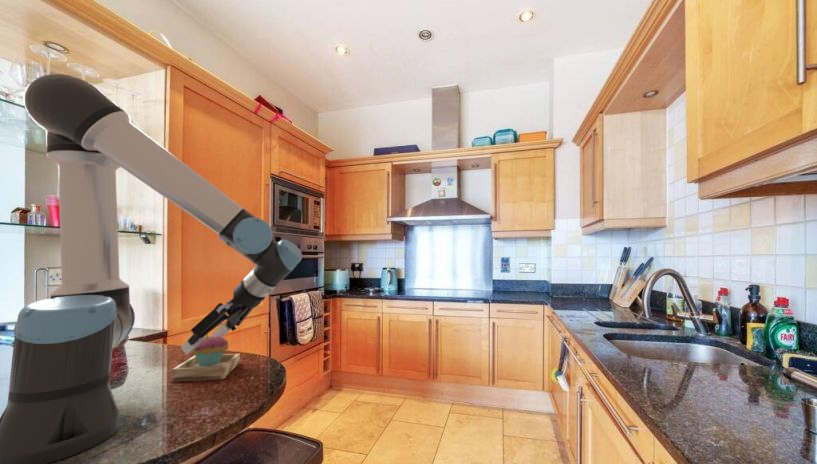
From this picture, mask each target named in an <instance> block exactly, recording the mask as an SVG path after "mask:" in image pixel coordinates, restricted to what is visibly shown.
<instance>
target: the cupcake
mask: <svg viewBox="0 0 817 464" xmlns="http://www.w3.org/2000/svg"><path fill="white" fill-rule="evenodd" d="M210 336H211V335H210ZM210 336H209V333H208V334H206V335H205V338H204V339H203V340H202V341H201V342H200V344H199V345H198V346H197V347H196V348H195V349H194V350H193V351H192V352H191V353H192V354H194V356H195V355H196V358H197V361H198V365H199V366H213V365H216V364H218V363H219V362H220V359H221V356H222V354H224V352H225V351H227V350H228V349H229V342H228V340H227V339H225V338H224V337H223V338H222V337H219V336H218V337H216V336H215V337H214V336H213V337H212V336H211V337H210Z"/></svg>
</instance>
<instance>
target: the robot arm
mask: <svg viewBox="0 0 817 464" xmlns="http://www.w3.org/2000/svg"><path fill="white" fill-rule="evenodd" d="M23 104H24V107H25V110H26V111H27V113H28V115H29V117H30V118H31V119H32V120H33V121H34V122H35V123H36V124H37V125H38V126H39V127H41V128H42V129H43V130H44V131H45V142H46V143H45V147H46V158H48V159H49V160H51V162H53V163H54V164H56V165H57V167H58V170H57V171H58V199H59V203H58V204H59V235H60V236H59V237H60V266H61V267H60V272H61V273H60V274H61V275H60V276H61V283H60V285H59V286H58V287H57V288H55V289H54V290H53V291H52V292H51V293H50V298H46V299H41V300H38V301H33V302H32V303H29V304H27V305H25V306H24V307H23V308H21V310H20V311H19V312H18V315H17V320H16V323H15V324H14V327H13V328H14V329H13V335H14V337H13V338H14V339H13V347H12V348H13V349H12V356H11V357H12V359H11V368H10V377H9V378H10V379H9V386H8V397H7V402H6V403H7V404H6V406H5V408H4V410H3V412H2V414H1V416H0V464H49V463H53V462H57V461H59V460H63V459H66V458H69V457H71V456H75V455H77V454H80V453H82V452H85V451H87V450H89V449H91V448H93V447H95V446H97V445H99V444H101V443H103V442H104V441H106V440H107V439H109V438H110V437H111V436H113V435H114V434H115V433H116V432H117V431H118V429H119V426H120V417H121V415H120V411H119V409H118V406H117V402H116V399H115V397H114V394H113V391H112V388H111V386H110V381H111V370H112V369H111V368H112V357H113V356H112V355H113V349H114V348H115V347H116V348H117V346H119V345H120V344H121V343H122V342H123V341H124V340H125V339H127V337H128V336H129V335H130V333H131V331H132V330H133V326H135V325H134V324H135V320H136V316H135V315H136V314H135V311H134V308H133V305H132V304H131V299H130V298H131V297H130V285H129V284H128V283H126V282H125V281H123V280H122V279H121V277H120V258H119V257H120V255H119V229H118V228H119V227H118V225H119V223H118V203H117V202H118V198H117V196H118V195H117V173H116V172H117V170H118V169H119V168H122V169H123V170H125V171H126V172H128V173H129V174H131V176H134V177H135V178H136V179H138V180H139V181H141V182H142V183H143V184H145V185H146V186H148V187H150V188H151V189H152V190H154V191H155V192H156V193H157V194H159V195H160V196H162V197H163V198H165V199H167V200H168V201H169V202H171V203H173V205H176V206H177V207H178V208H179V209H181V210H183V211H184V212H185V213H186V214H189V216H191V217H193V218H194V219H195V220H197V221H199V222H200V223H201V224H202V225H204V226H205V227H207V228H209V230H211V231H213V232H215V234H216V235H218V238H219V239H220V240H221V241H222V242H224V243H225V244H226V246H227V247H230V248H231V249H233V250H234V251H236V252H237V253H239V254H240V255H241V256H243V257H245V258H246V259H247V260H249V261H250V262H252V263H253V264H254V265H255V267H253V269H251V270H250V271H249V273H248V274H247V275H246V276H245V277H244V278H243V280H241V281H240V282H239V283H238V284H237V286H236V287H234V289H233V291H232V292H233V297H232V298H230V299H229V300H228V301H227V302H226V303H225V304H223V303H222V302H220V303H218V304H217V305H216V306H215V307H214V309H213V310H211V311H210V312H209V313H208V314H207V315H205V316H204V317H203V318H202V319H201V320H200V321H199V322H198V323H197V324H195V325H194V326H193V328H191V329H190V331H191V334H192V335H191V336H190V337H189V338H188V339H187V340H186V341H185V342H184V343H183V344H182V345H181V347H180V349H181V350H182V352H183V353H184V354H185V356H188V355H190V354H191V353H192V351H193V350H194V349H195V348H196V347H197V346H198V345H199V344H200V342H201V341H202V340H203V339H204V338H205V335H206V334H208V335H209V333H210V332H212V331H213V330H214V329H216V328H217V327H218V326H219V325H220V326H219V327H218V328H217V329H216V330H215V331H214V332H213V333H212V334H211V335H210V336H209V337H211V336H212V337H213V336H214V337H215V336H216V337H218V336H219V337H222V338H223V339H224V337H225V336H226V335H227V334H228V333H229V332H230V331H232V332H234V331H236V330H237V327H239V326H240V325H241V324H242V323H243V321H244V320H245V319H246V318H247V316H248V315H249V314H251V312H252V311H253V309H255V308H257V307H258V306H259V305H260V304H261V303H262V302H263V301H264V300H265V299H266V297H268V296H269V295H270V294H273V292H274V289H275V288H276V287H277V286H278V285H279V284H280V283H281V282H282V281H283V280H284V279H285V278H286V277H287V276H288V275H289V274H290V273H291V272H293V271H294V269H295V268H296V267H297V265H298V264H299V263H300V262H301V261H302V259H303V254H302V251H301V250H300V248H299V247H298V245H296V244H294V243H293V242H292V241H289V240H288V239H281V240H279V241H278V242H276V241H275V240H273V237H274V235H273V230H272V228H271V226H270V224H269V223H268V222H267V221H266V220H264V219H262V218H259V217H256V216H254V215H253V214H252V213H251V212H249V211H248V210H246V209H245V208H244V207H242V205H240V204H238V203H237V201H235V200H233V199H232V198H231V197H229V196H228V195H227V194H225V193H224V192H223V191H221V190H220V189H219V188H217V186H215V185H214V184H212V183H211V182H209V181H208V180H207V179H205V178H204V176H202V175H201V174H199V173H198V172H196V171H195V170H194V169H192V168H191V167H190V166H189V165H187V164H186V163H184V162H183V161H182V160H180V158H178V157H176V155H174V154H173V153H171V152H170V151H168V150H167V149H166V148H164V147H163V146H162V145H160V144H159V143H158V142H156V140H154V139H153V138H151V137H150V136H149V135H147V134H146V133H145V132H144V131H142V130H141V129H139V128H138V127H137V126H135V125H134V124H133V123H132V122H131V116H130V114H129V113H128V112H126V111H125V110H124V109H122V108H121V107H120V106H119V105H117V104H116V103H115V102H114V101H113V100H111V99H110V98H109V97H108V96H107V95H105V94H104V92H103V91H101V90H100V89H99V88H98V87H96V86H95V85H93V84H92V83H90V82H88V81H87V80H85V79H82V78H80V77H77V76H74V75H70V74H63V73H50V74H43V75H41V76H39V77H36V78H35V79H33V80H32V81H30V83H28V84H27V86H26V88H25V90H24V93H23ZM225 321H226V322H225Z"/></svg>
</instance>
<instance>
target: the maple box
mask: <svg viewBox="0 0 817 464" xmlns="http://www.w3.org/2000/svg"><path fill="white" fill-rule="evenodd" d="M240 361H241V353H223V354H222V356H221V359H220V362H219V363H218V364H216V365H213V366H199V365H198V361H197V358H196V355H195V354H194V355H193V356H191V357H189V358H188V359H186V360H185V361H183V362H182V363H180V364H178V365H176V366H175V367H174V368H172V369H171V374H170V376H171V377H170V382H171V383H178V382H195V381H196V382H197V381H199V382H200V381H214V380H215V381H216V380H218V381H219V380H224V379H225V378H226V377H227V376H229V375H230V374H231V373H232V372H233V371H234V370H235V369H236V368H237V367H238V366H239V365H240V364H241V363H240ZM239 363H240V364H239ZM238 364H239V365H238ZM237 365H238V366H237ZM236 366H237V367H236ZM235 367H236V368H235ZM234 368H235V369H234ZM233 369H234V370H233ZM232 370H233V371H232ZM231 371H232V372H231ZM230 372H231V373H230Z"/></svg>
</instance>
